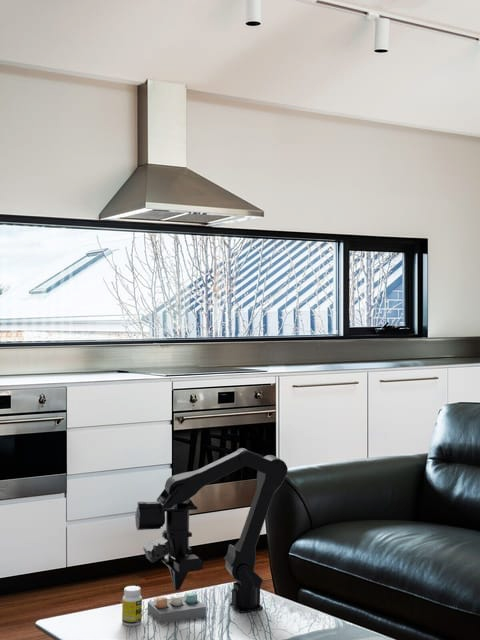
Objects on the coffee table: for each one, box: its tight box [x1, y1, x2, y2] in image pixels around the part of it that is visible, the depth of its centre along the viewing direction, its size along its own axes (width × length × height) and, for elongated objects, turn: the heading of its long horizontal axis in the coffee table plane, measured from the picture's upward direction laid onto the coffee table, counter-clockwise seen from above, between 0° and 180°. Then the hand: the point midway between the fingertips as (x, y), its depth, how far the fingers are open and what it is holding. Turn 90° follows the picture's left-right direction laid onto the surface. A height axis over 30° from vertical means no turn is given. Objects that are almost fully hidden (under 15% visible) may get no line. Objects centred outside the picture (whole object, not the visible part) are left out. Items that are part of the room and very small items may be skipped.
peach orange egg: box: [155, 596, 168, 609], centre depth 212 cm, size 3×3×4 cm
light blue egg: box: [185, 592, 198, 605], centre depth 216 cm, size 3×3×4 cm
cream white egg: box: [170, 594, 183, 607], centre depth 214 cm, size 3×3×4 cm
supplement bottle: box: [121, 585, 143, 627], centre depth 208 cm, size 5×5×8 cm
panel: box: [147, 595, 207, 625], centre depth 214 cm, size 12×9×2 cm
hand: (177, 589), depth 214 cm, fingers closed
